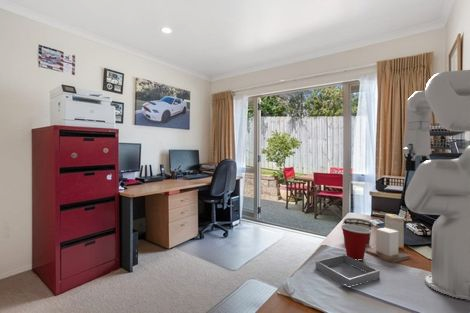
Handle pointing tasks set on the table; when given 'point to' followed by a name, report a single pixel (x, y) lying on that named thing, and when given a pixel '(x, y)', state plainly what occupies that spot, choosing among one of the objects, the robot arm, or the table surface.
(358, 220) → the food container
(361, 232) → the plastic cup
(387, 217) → the supplement box
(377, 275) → the bin
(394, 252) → the carton
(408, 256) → the beige square coaster
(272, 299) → the table surface
